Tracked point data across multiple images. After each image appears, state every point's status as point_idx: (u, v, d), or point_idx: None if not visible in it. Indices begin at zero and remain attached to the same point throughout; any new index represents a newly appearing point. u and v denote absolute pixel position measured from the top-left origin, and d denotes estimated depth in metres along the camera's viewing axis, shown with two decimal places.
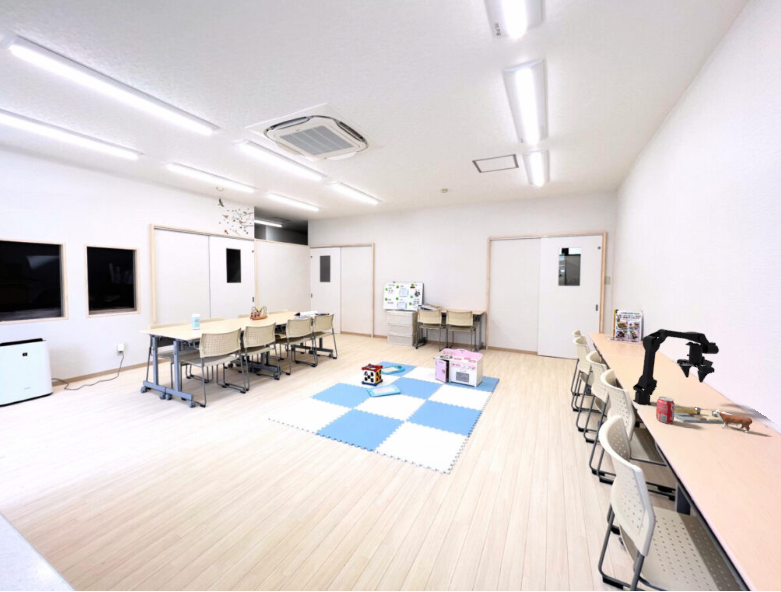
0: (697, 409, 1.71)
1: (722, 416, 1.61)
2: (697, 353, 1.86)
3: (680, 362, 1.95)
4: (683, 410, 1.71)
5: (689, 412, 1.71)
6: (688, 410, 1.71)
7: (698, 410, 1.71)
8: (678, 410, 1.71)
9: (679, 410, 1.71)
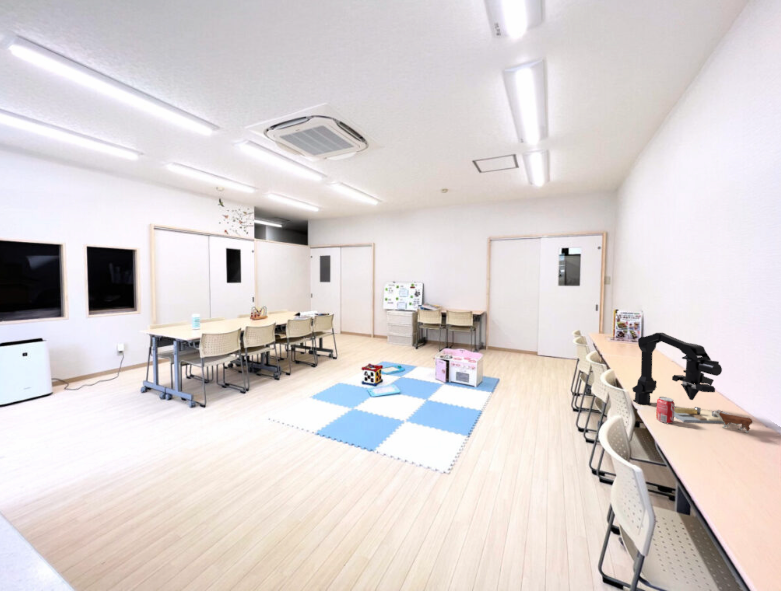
0: (697, 409, 1.71)
1: (722, 416, 1.61)
2: (687, 368, 1.65)
3: (676, 379, 1.71)
4: (683, 410, 1.71)
5: (689, 412, 1.71)
6: (688, 410, 1.71)
7: (698, 410, 1.71)
8: (678, 410, 1.71)
9: (679, 410, 1.71)
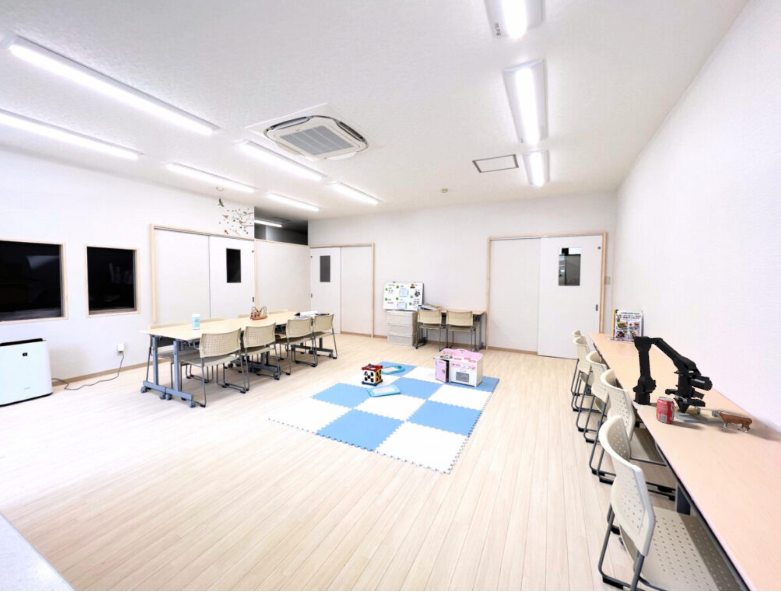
0: (697, 409, 1.71)
1: (722, 416, 1.61)
2: (679, 382, 1.70)
3: (668, 392, 1.76)
4: None
5: (689, 412, 1.71)
6: (688, 410, 1.71)
7: (698, 410, 1.71)
8: (678, 410, 1.71)
9: (679, 410, 1.71)
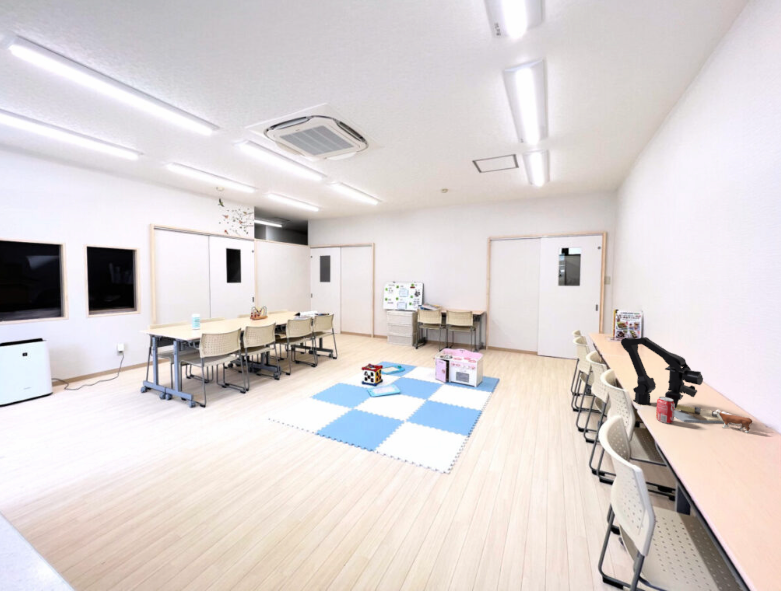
0: (695, 408, 1.72)
1: (722, 416, 1.61)
2: (671, 378, 1.76)
3: None
4: (677, 406, 1.77)
5: (684, 409, 1.75)
6: (683, 407, 1.75)
7: (696, 409, 1.71)
8: None
9: None
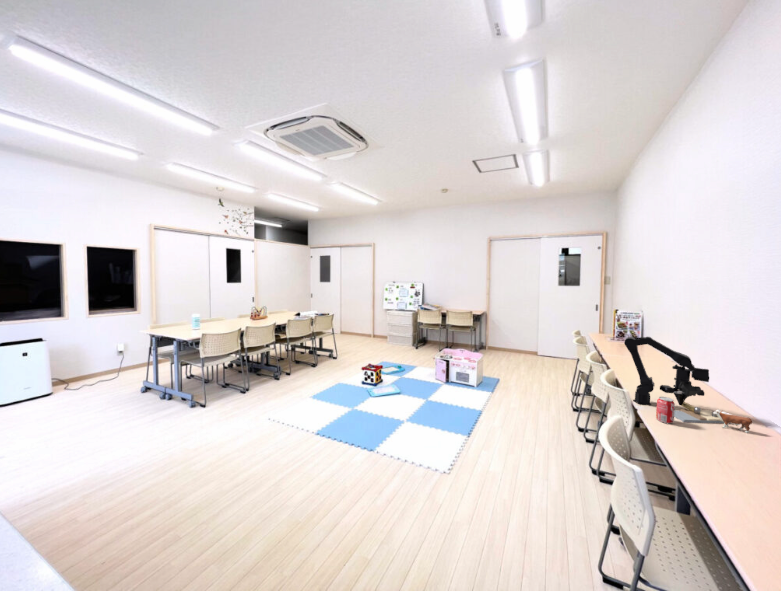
0: (694, 408, 1.73)
1: (722, 416, 1.61)
2: (680, 377, 1.79)
3: None
4: (683, 404, 1.80)
5: (687, 408, 1.77)
6: (687, 405, 1.77)
7: (694, 409, 1.72)
8: None
9: None
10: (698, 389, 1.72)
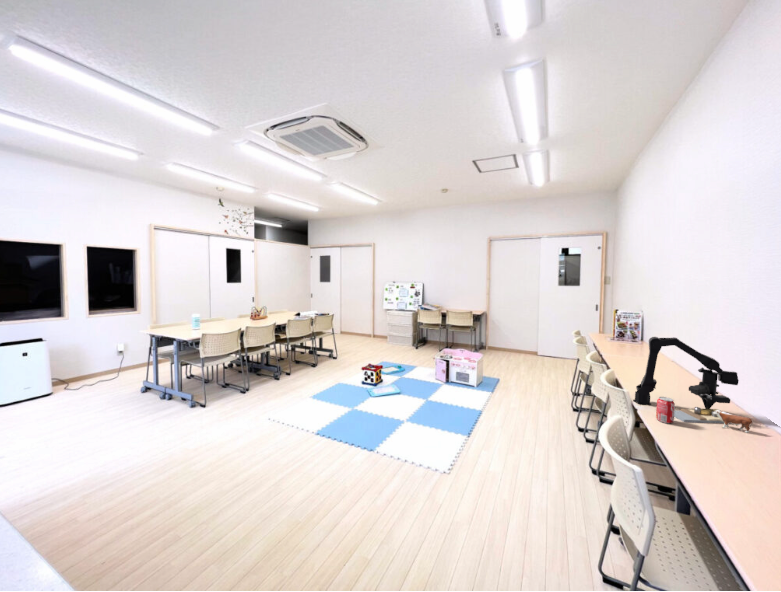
0: None
1: (722, 416, 1.61)
2: (707, 380, 1.74)
3: None
4: None
5: None
6: None
7: None
8: None
9: None
10: (699, 389, 1.73)
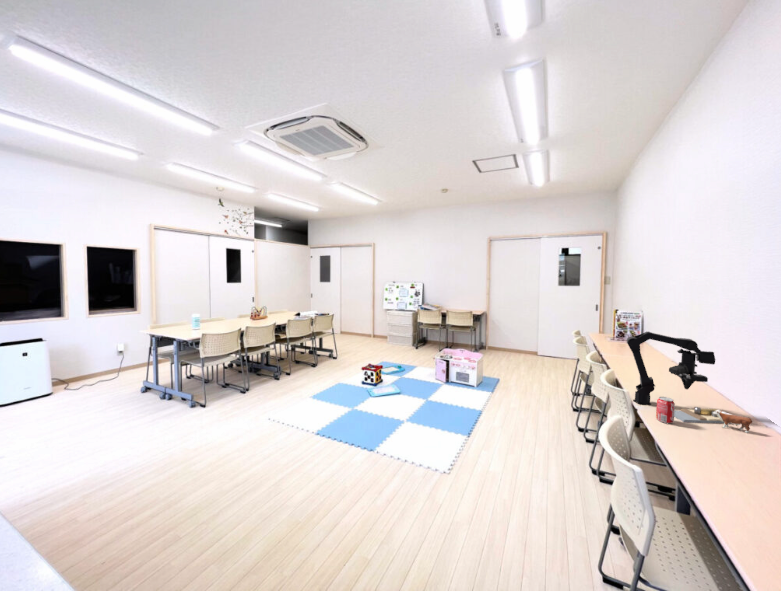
0: None
1: (722, 416, 1.61)
2: (686, 361, 1.79)
3: None
4: None
5: None
6: None
7: None
8: None
9: None
10: (678, 369, 1.78)
